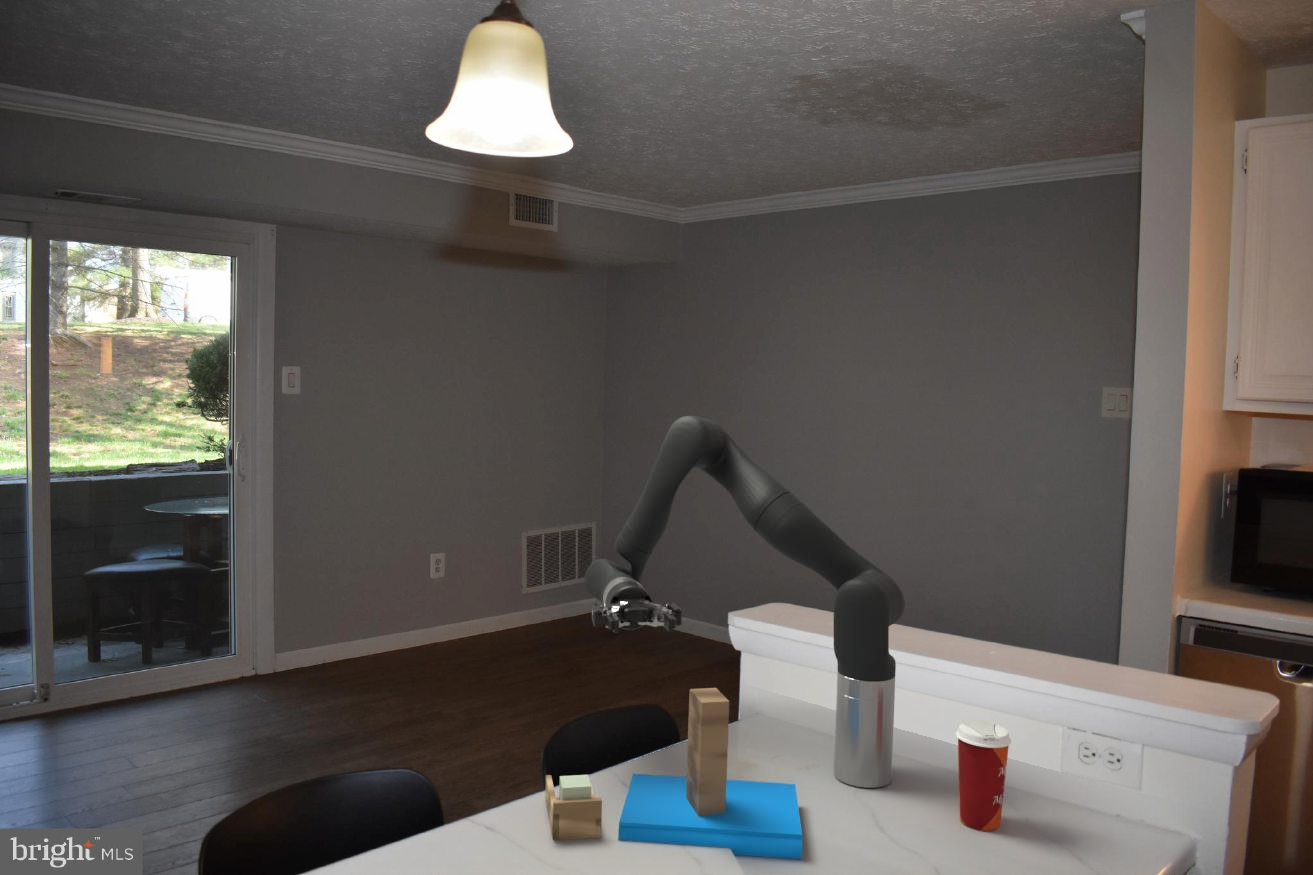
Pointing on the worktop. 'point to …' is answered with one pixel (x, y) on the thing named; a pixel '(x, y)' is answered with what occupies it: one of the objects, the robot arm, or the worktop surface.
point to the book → (714, 817)
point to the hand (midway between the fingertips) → (644, 625)
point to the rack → (573, 815)
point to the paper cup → (981, 773)
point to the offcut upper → (574, 787)
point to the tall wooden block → (707, 751)
